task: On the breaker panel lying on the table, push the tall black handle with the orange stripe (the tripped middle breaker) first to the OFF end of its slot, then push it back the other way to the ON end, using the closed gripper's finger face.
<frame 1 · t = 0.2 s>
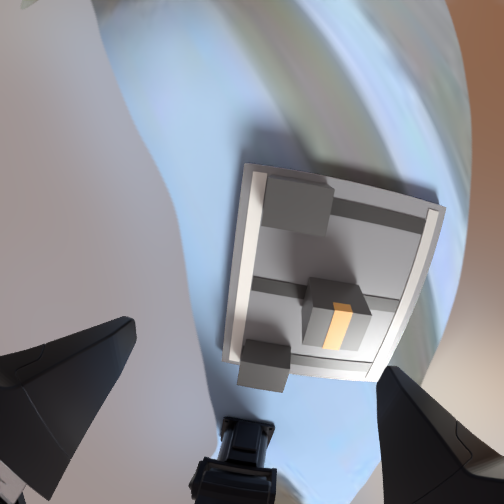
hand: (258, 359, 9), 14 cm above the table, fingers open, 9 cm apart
panel: (327, 289, 22), on the table
tripped breaker: (333, 313, 19), point 4 cm above the table, slide at 0.0 cm
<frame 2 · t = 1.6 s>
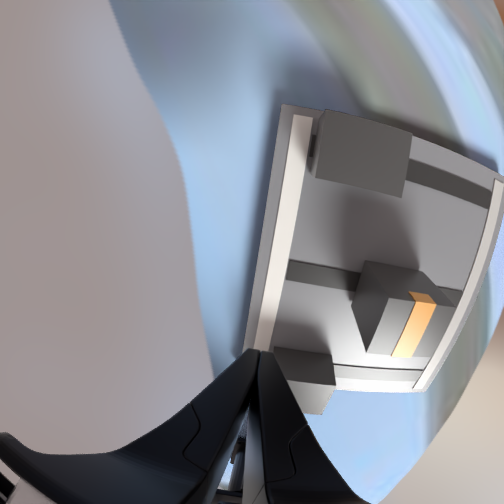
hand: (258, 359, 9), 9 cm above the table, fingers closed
panel: (381, 278, 16), on the table
tripped breaker: (399, 307, 13), point 4 cm above the table, slide at 0.0 cm
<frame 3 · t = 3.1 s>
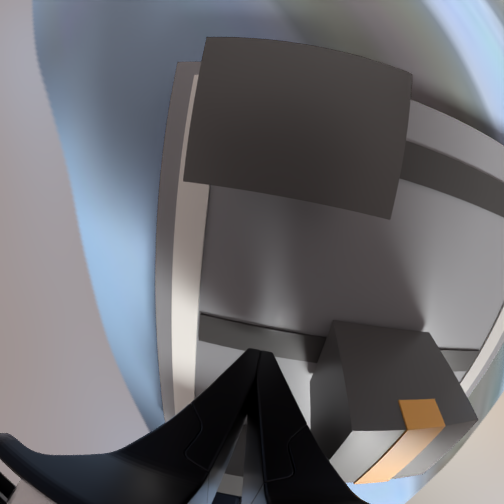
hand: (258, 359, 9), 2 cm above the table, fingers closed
panel: (357, 336, 11), on the table
tripped breaker: (383, 403, 7), point 4 cm above the table, slide at -0.3 cm, touching gripper
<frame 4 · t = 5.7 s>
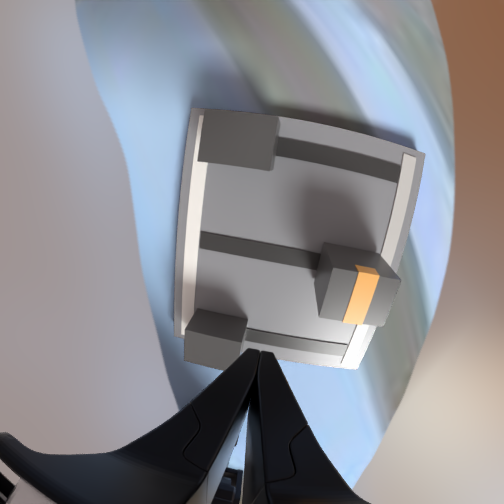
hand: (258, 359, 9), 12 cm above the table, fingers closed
panel: (289, 250, 20), on the table
tripped breaker: (353, 282, 16), point 4 cm above the table, slide at -4.0 cm
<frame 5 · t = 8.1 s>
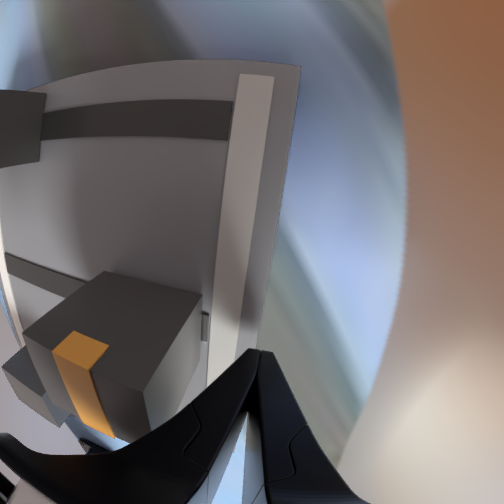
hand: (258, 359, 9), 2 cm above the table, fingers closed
panel: (91, 279, 11), on the table
tripped breaker: (121, 353, 8), point 4 cm above the table, slide at -4.0 cm, touching gripper
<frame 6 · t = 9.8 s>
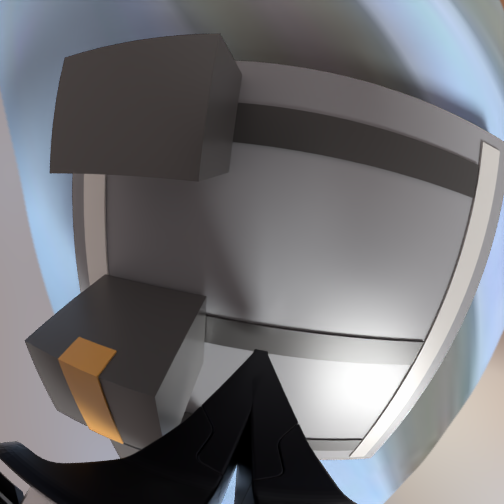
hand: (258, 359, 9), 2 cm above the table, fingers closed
panel: (270, 321, 11), on the table
tripped breaker: (126, 357, 8), point 4 cm above the table, slide at 4.3 cm, touching gripper
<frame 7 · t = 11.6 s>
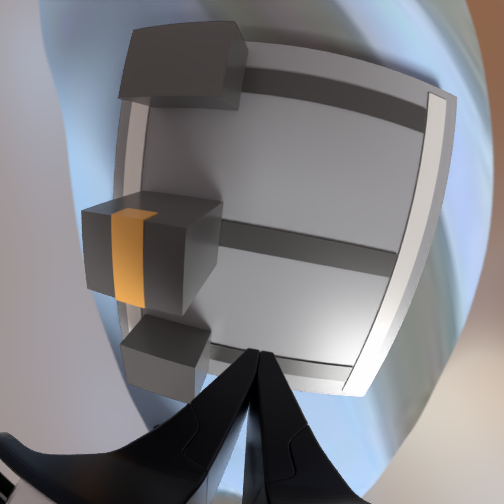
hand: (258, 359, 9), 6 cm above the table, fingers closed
panel: (267, 233, 14), on the table
tripped breaker: (156, 242, 10), point 4 cm above the table, slide at 4.0 cm
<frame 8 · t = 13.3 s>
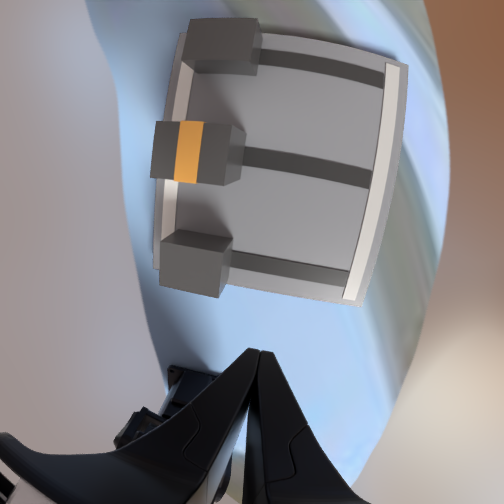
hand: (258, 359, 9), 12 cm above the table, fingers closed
panel: (276, 161, 18), on the table
tripped breaker: (202, 152, 15), point 4 cm above the table, slide at 4.0 cm
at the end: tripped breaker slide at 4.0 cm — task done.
